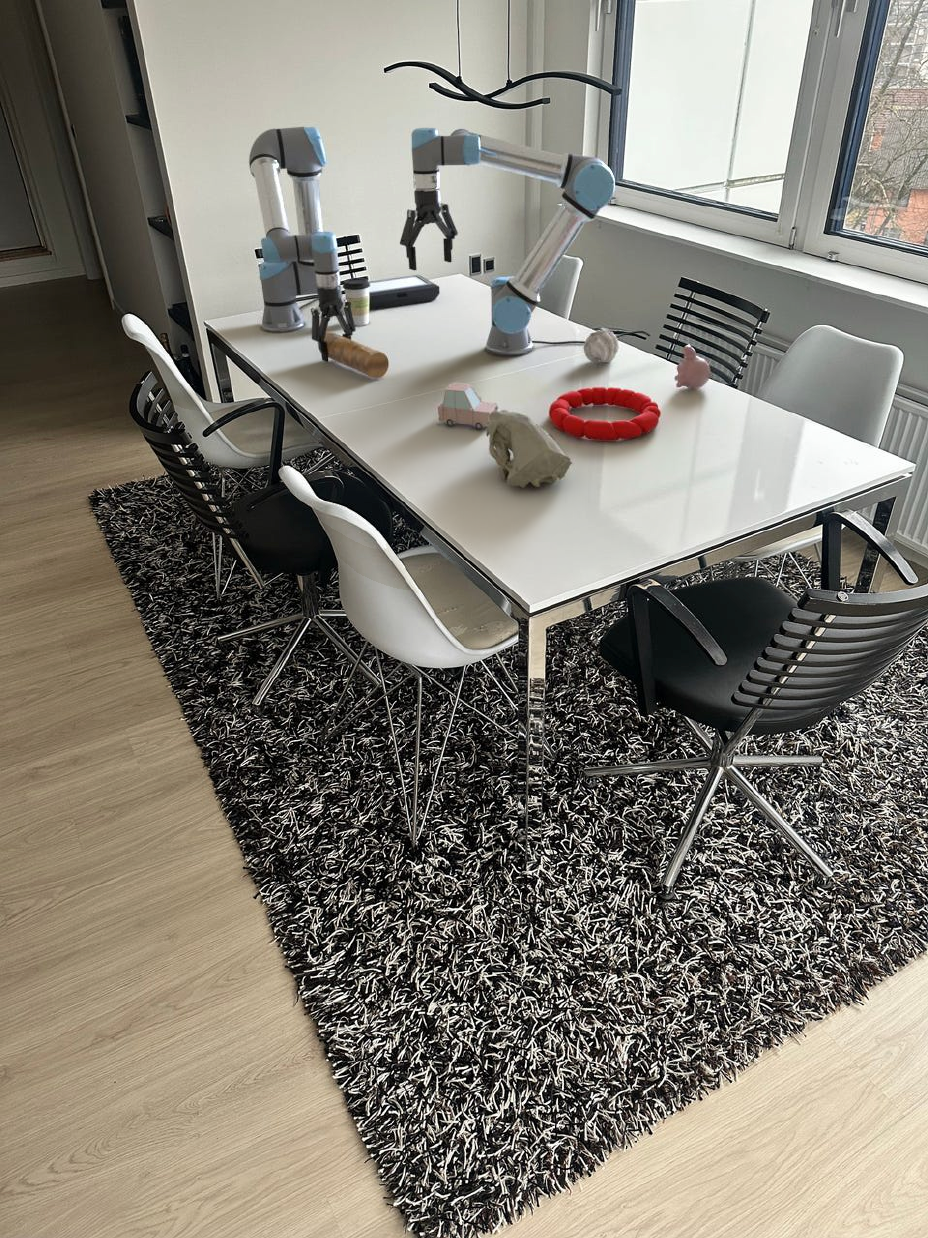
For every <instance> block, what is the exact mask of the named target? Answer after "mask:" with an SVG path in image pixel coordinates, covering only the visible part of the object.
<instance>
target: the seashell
mask: <svg viewBox="0 0 928 1238" xmlns="http://www.w3.org/2000/svg"><path fill="white" fill-rule="evenodd" d="M616 336H617V335H616V334H614V332H613V331H612V330H603V329H600V330H599V329H597V330H596V331H594V332H591V333H590V334H589V335H588V336H587V338H586V339H585V341H586V342H585V344H584V343H583V347H582V348H583V353H584V355H585V357H586V358H587V360H589V361H591V362H593V363H598V362H602V363H606V362H608V363H609V362H611V361H613V359H614V358H615V357H616V355H617V353H618V352H619V349H620V346H619V345H620V344H619V343H620V342H619V340H618V338H616Z"/></svg>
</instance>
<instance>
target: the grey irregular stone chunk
mask: <svg viewBox="0 0 928 1238" xmlns="http://www.w3.org/2000/svg"><path fill="white" fill-rule="evenodd" d="M485 436H486V438H487V437H489V438H488V440H489V444H488V445H489V446H488V450H489V454H490V456H491V457H492V458H493V459H494V460H495V462H496V464H497V466H499V468H500V470H501V471H502V472H501V478H502V479H507V480H506V484H507V486H517V487H518V486H519V488H523V489H524V488H526V486H527V485H529V483H531V485H533V486H534V487H536V488H540V485H541V484H542V482H544V483H549V484H550V485H553V484H555V483H556V482H557V480H561V479H563V478H565V476H566V474H567V472H568V471H569V469H570V467H571V466H572V464H573V462H572V461H571V458H570V457H568V456H567V455H565V453H564V451H562V449H561V448H560V446H559V444H557V443H556V439H555V438H554V436H553V435H551V434H550V433H548V432H547V431H546V430H545V429H544V428H542V427H541V426H539V425H538V424H537V423H536V424H535V422H534V421H533V419H532V418H531V417H530V416H529V415H527V414H524V413H519V412H515V411H509V410H507V409H502V410H500V411H499V410H497V411H496V412H492V413H491V414H490V422H488V423H487V427H486V435H485ZM511 453H512V454H511ZM511 455H512V457H513V458H512V460H511ZM507 474H508V475H507Z"/></svg>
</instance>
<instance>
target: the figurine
mask: <svg viewBox="0 0 928 1238" xmlns="http://www.w3.org/2000/svg"><path fill="white" fill-rule="evenodd" d="M682 354H683V358H684V359H683V361H682V362H679V363H678V364H677V365H676V372H677V375H675V376H674V381H675V382H676V381H677V382H676V384H675V386H676V388H681V387H686V388H688V389H693V390H694V389H695V390H696V389H700V388H703V387H704V386H705V385H706V384H707V383H708V382H709V379H710V377H711V367H710V364H709V362H708V361H706V359H704V358H702V357H700V356H697V353H696V350H695V349H694V347H692V345H690V344H686V345H685V346H684V347H683V348H682Z"/></svg>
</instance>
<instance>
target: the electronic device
mask: <svg viewBox="0 0 928 1238" xmlns="http://www.w3.org/2000/svg"><path fill="white" fill-rule="evenodd" d="M368 282H369V283H370V287H369V311H371V310H378V309H383V308H392V307H399V306H405V305H406V306H407V305H413V304H418V303H419V304H420V303H427V302H434V301H436V299H437V298H438V296H439V295H440V285H437V284H436V283H434V282H432V281H430V280H429V279H427V278H425V277H423V276H422V275H421V274H420V275H419V274H413V275H408V276H399V277H393V278H386V279H378V280H369V281H368Z"/></svg>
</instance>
